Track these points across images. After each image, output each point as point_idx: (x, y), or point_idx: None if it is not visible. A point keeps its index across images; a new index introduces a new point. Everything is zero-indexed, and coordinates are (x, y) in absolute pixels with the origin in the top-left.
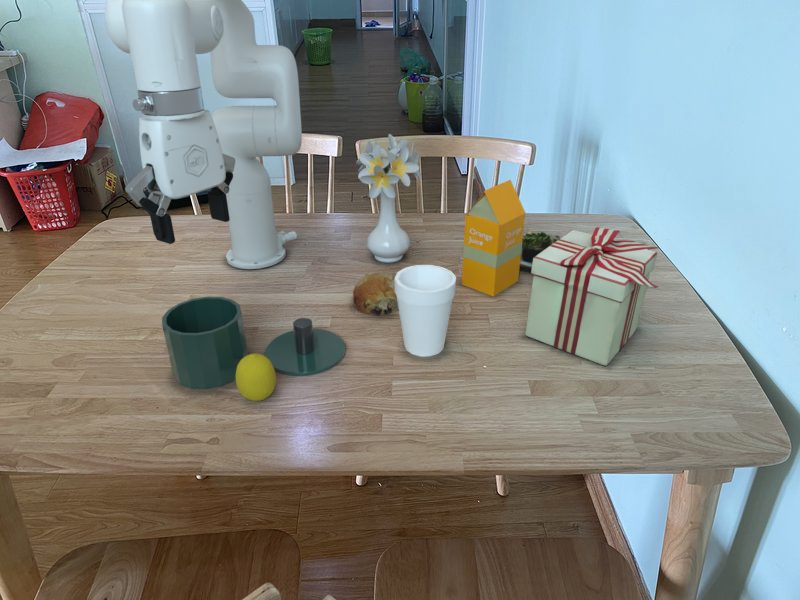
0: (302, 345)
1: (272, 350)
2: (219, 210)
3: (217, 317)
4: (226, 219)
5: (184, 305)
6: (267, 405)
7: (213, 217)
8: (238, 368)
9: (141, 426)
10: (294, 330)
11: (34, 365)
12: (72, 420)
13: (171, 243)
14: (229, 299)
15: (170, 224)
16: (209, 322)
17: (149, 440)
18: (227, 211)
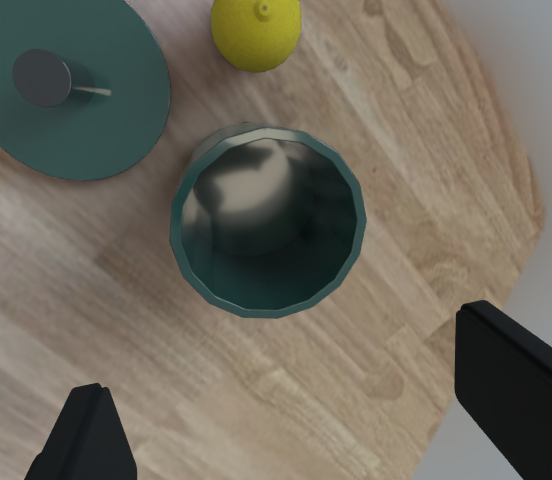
0: (80, 67)
1: (133, 142)
2: (101, 466)
3: (201, 261)
4: (93, 391)
5: (268, 307)
6: None
7: (131, 466)
8: (296, 31)
9: (417, 145)
10: (76, 85)
11: (419, 401)
12: (462, 238)
13: (481, 300)
14: (175, 248)
15: (548, 358)
16: (216, 269)
17: (430, 101)
18: (60, 430)
